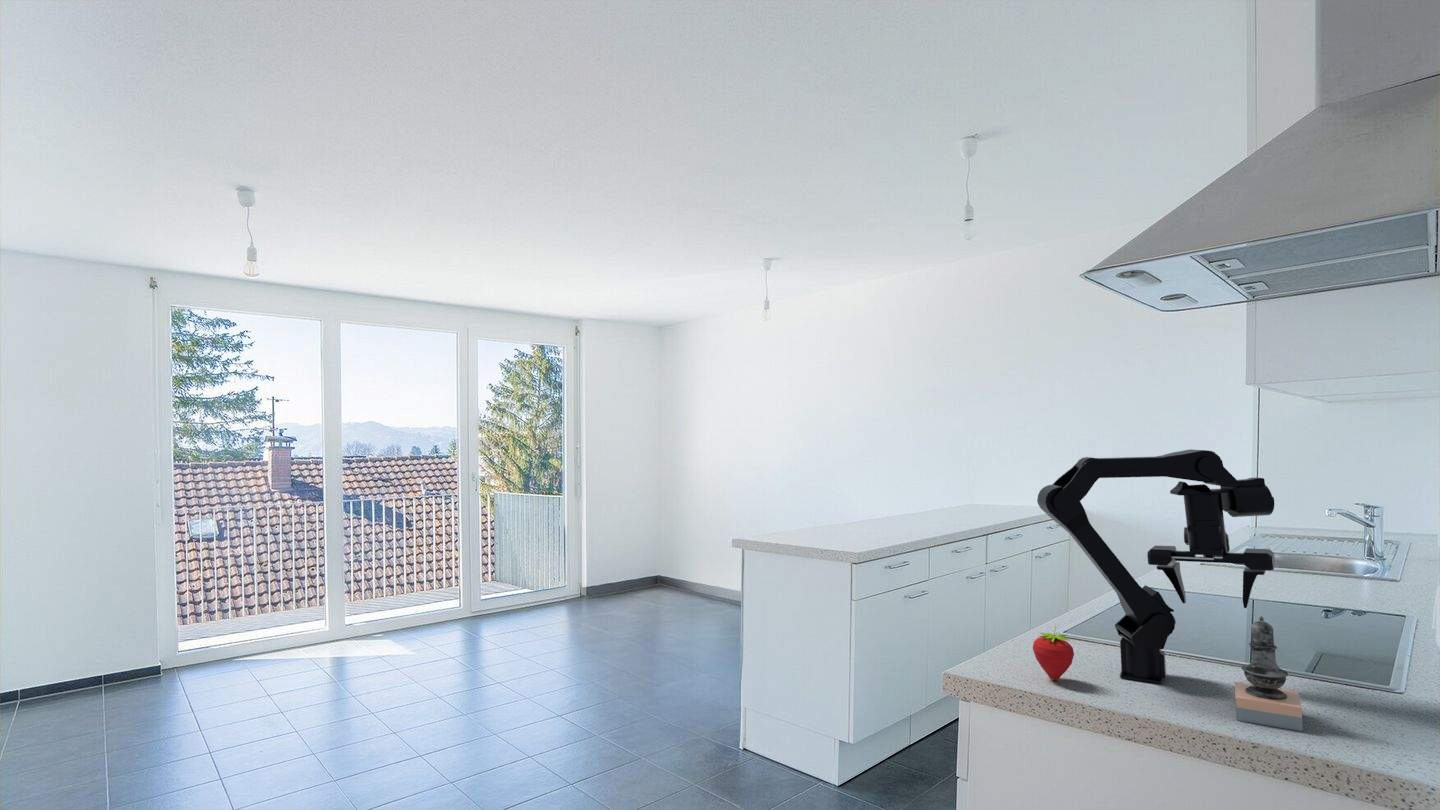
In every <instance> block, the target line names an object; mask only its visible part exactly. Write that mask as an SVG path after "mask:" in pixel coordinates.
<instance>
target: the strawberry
mask: <svg viewBox="0 0 1440 810" xmlns="http://www.w3.org/2000/svg"><path fill="white" fill-rule="evenodd" d="M1056 629H1057V625H1055V627H1054V630H1053V631H1054V632H1053V633H1050V632H1047V633H1046V632H1039V634H1040V636H1038V637H1037V638H1036V639H1035V640H1033V644H1032V651H1033V655H1034V657H1035V660H1036V661H1037V662H1038V663H1039V665H1040V667H1041V668H1042V669H1043V671H1044V672H1045V674H1046V675H1047V676H1048V678H1049V679H1050V680H1051V679H1053V680H1056V681H1058V680H1059V679H1060V678H1061V677H1062V676H1063V675H1064V674H1065V673H1066V672H1067V670H1068V669H1069V668H1070V666H1071V665H1072V664H1073V659H1074V656H1075V652H1074V649H1073V646H1072V645H1071V644H1070V642H1068V641H1070V639H1069V638H1067V637H1066V636H1068V634H1061V633H1057V634H1056ZM1053 680H1052V681H1053Z"/></svg>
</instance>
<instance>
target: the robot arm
mask: <svg viewBox="0 0 1440 810" xmlns="http://www.w3.org/2000/svg"><path fill="white" fill-rule="evenodd" d="M1153 477H1154V478H1155V477H1156V478H1158V477H1164V478H1165V477H1166V478H1171V479H1172V478H1173V479H1182V480H1187V481H1194V482H1201V483H1203V484H1190V485H1189V484H1188V483H1187V482H1186V481H1180V480H1179V481H1178V482H1177V484H1176V485H1175V486H1174V487H1173V488H1172V489H1171V490H1169V492H1170V494H1171V495H1175V496H1183V503H1184V510H1185V519H1186V520H1185V521H1186V527H1183V541H1184V544H1185V545H1187V546H1188V548H1189V550H1177V547H1176V546H1175V545H1154V546H1153V547H1151V548H1149V550H1148V551H1147V554H1146V555H1147V565H1150V566H1156V570H1159V571H1160V570H1161V571H1163V573H1164V574H1165V576H1166V577H1167V579H1168V580H1169V581H1170V584H1172V586H1173V589H1174V590H1175V591H1176V592H1175V593H1176V594H1177V596H1178V597H1179V599H1180V601H1181V602H1182V604H1186V603H1187V596H1186V592H1185V587H1184V582H1183V581H1184V580H1183V578H1182V573H1181V563H1180V562H1195V563H1199V562H1200V563H1219V564H1220V563H1221V564H1241V565H1243V566H1245V568H1244V569H1243V571H1242V605H1243V608H1244V609H1248V608H1247V607H1248V605H1249V601H1250V597H1251V593H1252V590H1253V586H1254V583H1255V581H1256V579H1257V576H1264V575H1265V574H1266V571H1274V569H1275V566H1276V560H1275V559H1276V558H1275V553H1274V551H1272V550H1271V549H1270V548H1245V549H1244V551H1243V552H1230V551H1231V549H1230V540H1229V535H1228V533H1227V531H1226V526H1225V517H1224V512H1225V513H1228V515H1229V516H1230V517H1232V518H1241V517H1257V516H1258V517H1259V516H1262V517H1263V516H1271V515H1272V513H1274V510H1275V497H1274V496H1273V494H1272V493H1271V490H1270V489H1269V487H1268V485H1266V484H1265V483H1266V481H1265V478H1263V477H1248V478H1244V479H1243V478H1242V479H1236V477H1235V476H1233V474H1232V473H1231V472H1230V471H1228V470H1227V468H1225V467H1224V462H1223V460H1222V458H1221V456H1219V454H1217V453H1216V452H1215V451H1212V450H1207V449H1206V450H1205V449H1194V448H1193V449H1192V448H1191V449H1185V450H1180V451H1174V452H1170V453H1166V454H1162V455H1157V456H1129V457H1128V456H1127V457H1120V456H1119V457H1090V456H1085V457H1081V458H1080V459H1078V460H1077V462H1076V463H1075V464H1074V465H1073V466H1072V467H1071V468H1070V469H1068V470H1067V471H1066V472H1064V473H1063V474H1062V475H1061V476H1059V478H1057V479H1056V480H1055V481H1054V482H1053V483H1052V484H1048V485H1046V486H1044V487H1042V488H1041V489H1040V490H1039V493H1038V494H1037V500H1036V502H1037V505H1038V506H1039V508H1040V509H1041V510H1042V511H1043V512H1044V513H1045V514H1046V515H1047V516H1048V517H1049V518H1051V520H1053V521H1054V522H1055V523H1056V524H1058V525H1059V526H1060V527H1061V528H1062V529H1064V530H1065V531H1066V532H1067V533H1068V534H1069V535H1070V537H1072V539H1073V540H1074V541H1075V542H1076V544H1077V545H1078V546H1079V548H1080V549H1081V550H1082V552H1083V553H1084V554H1085V555H1086V556H1087V557H1088V560H1090V562H1091V563H1092V564H1093V565H1094V567H1095V568H1096V569H1097V570H1098V571H1099V573H1100V574H1101V575H1102V577H1103V578H1104V579H1105V580H1106V582H1107V583H1108V584H1109V585H1110V587H1111V588H1112V589H1113V590H1114V592H1115V594H1116V595H1117V597H1118V601H1119V602H1120V605H1121V608H1122V610H1123V611H1124V613H1125V614H1124V616H1123V617H1121V618H1120V619H1119V620H1118V621H1117V622H1116V623H1115V624H1114V628H1115V631H1116V632H1117V635H1118V636H1119V637H1121V639H1120V641H1119V644H1120V646H1119V647H1120V666H1121V667H1120V668H1121V671H1120V673H1119V678H1121V679H1126V680H1134V681H1140V682H1146V683H1153V684H1162V683H1163V679H1165V678H1166V675H1167V667H1166V666H1167V664H1166V663H1167V662H1166V652H1165V651H1164V649H1165V646H1166V643H1167V640H1168V637H1170V635H1172V633H1173V632H1174V630H1175V628H1176V627H1175V626H1176V623H1177V622H1176V619H1175V616H1174V614H1173V613H1172V612H1175V610H1174V609H1173V608H1172V607H1170V606H1169V605H1168V604H1167V603H1166V601H1165V599H1164V598H1163V596H1162V594H1161V593H1160V592H1159V591H1157V590H1155V589H1154V588H1153V587H1152V588H1151V587H1150V586H1148V585H1146V584H1145V585H1144V586H1143V587H1142V586H1141V585H1139V583H1138V582H1137V580H1135V578H1134V577H1133V575H1131V573H1130V572H1129V571H1128V569H1127V568H1126V566H1124V564H1123V563H1122V562H1121V560H1119V558H1118V557H1117V555H1116V554H1115V553H1114V552H1113V551H1112V549H1111V548H1110V547H1109V546H1108V544H1107V543H1106V542H1105V541H1104V539H1103V538H1102V537H1101V536H1100V534H1099V533H1098V532H1097V531H1096V530H1095V528H1094V527H1093V525H1092V524H1091V522H1090V520H1089V517H1088V515H1087V512H1086V509H1085V508H1084V505H1083V504H1082V502H1081V501H1082V500H1083V499H1084V498H1085V497H1086V496H1087V494H1088V493H1089V492H1090V491H1091V489H1092V488H1093V486H1094V485H1095V483H1096V482H1097V481H1098V480H1099V479H1109V478H1110V479H1111V478H1113V479H1114V478H1115V479H1116V478H1119V479H1120V478H1153ZM1208 485H1212V486H1219V487H1220V488H1210V487H1209V486H1208ZM1196 555H1197V556H1196ZM1199 555H1200V556H1199Z"/></svg>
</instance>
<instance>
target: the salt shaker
mask: <svg viewBox="0 0 1440 810" xmlns="http://www.w3.org/2000/svg"><path fill="white" fill-rule="evenodd" d="M1258 619H1259V620H1257V621H1255V622H1253V623H1252V624H1251V625H1250V632H1251V633H1250V634H1251V642H1250V643H1249V644H1248V645H1249V646H1250V647H1251V660H1250V663H1248V664H1244V665H1242V666H1241V670H1242V671H1243V674H1244V676H1245V678H1246V681H1248V682H1249V684H1252V685H1255V686H1250V687H1248V688H1246V689H1245V691H1246V692H1247V693H1248V694H1250V695H1253V696H1256V697H1260V698H1265V699H1274V700H1281V699H1286V698H1287V695H1286V694H1285V693H1283V692H1282V691H1281V690H1278V688H1280V689H1281V688H1282V687H1283V686H1285V683H1286V681H1287V677H1288V676H1289V672H1288V671H1286V670H1284V669H1282V668H1280V667H1279V665H1278V664H1277V661H1276V659H1277V658H1276V650H1277V649H1278V647H1277V646H1276V645H1275V638H1274V635H1275V634H1274V628H1273V626H1272V625H1271V624H1270V623H1268V622H1266V621H1264V620H1265V618H1264V617H1263V616H1262V615H1261V616H1259V618H1258Z"/></svg>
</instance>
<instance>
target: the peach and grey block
mask: <svg viewBox="0 0 1440 810" xmlns="http://www.w3.org/2000/svg"><path fill="white" fill-rule="evenodd" d="M1250 686H1255V685H1252V684H1251V683H1246V682H1245V683H1244V682H1237V681H1236V682H1234V689H1235V691H1234V692H1235V694H1234V695H1235V697H1234V698H1235V713H1236V721H1240V722H1245V723H1250V724H1256V725H1262V726H1268V727H1273V728H1274V727H1275V728H1280V729H1286V730H1292V731H1298V732H1304V726H1303V724H1304V723H1303V711H1302V709H1303V708H1302V704H1301V700H1300V695H1299V692H1298V690H1293V689H1285V688H1281V687H1280V688H1278V690H1281V691H1282V692H1283V693H1285V694H1286V695H1287V698H1286V699H1281V700H1274V699H1265V698H1260V697H1256V696H1253V695H1250V694H1248V693H1247V692H1246V691H1245V689H1246V688H1248V687H1250Z"/></svg>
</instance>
